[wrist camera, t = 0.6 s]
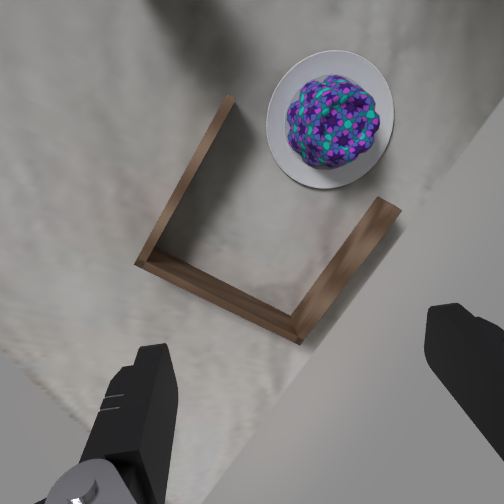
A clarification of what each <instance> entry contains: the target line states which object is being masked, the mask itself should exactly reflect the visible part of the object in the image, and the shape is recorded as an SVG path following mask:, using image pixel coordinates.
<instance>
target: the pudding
mask: <svg viewBox="0 0 504 504" xmlns="http://www.w3.org/2000/svg"><path fill="white" fill-rule="evenodd" d="M328 74H337V75H334V76H328V77H327V78H326V79H325V80H324V81H323V82H322V83H321V82H317V81H312V82H309V81H310V80H312V79H314V78H317V77H319V76H322V75H328ZM338 75H342V76H346V77H348V78H350V79H352V80H354V81H355V82H357V83H358V84H359V85H360V86H361V87H362V88H363V89H364V90H363V89H362V88H360V87H359V86H358V85H354V84H352V83H351V82H349V81H348V80H347V79H345V78H343V77H341V76H338ZM307 82H309V83H307ZM306 83H307V84H306ZM305 84H306V85H305ZM303 85H305V86H304V87H303V88H302V89H301V91H300V97H299V100H298V101H296V102H294V103H293V104H291V106H290V108H289V110H288V112H287V109H288V106H289V104H290V102H291V100H292V98H293V97H294V95H295V94H296V93H297V91H298V90H299V89H300V88H301V87H302V86H303ZM286 112H287V121H288V123H289V125H290V127H291V129H290V132H289V134H288V140H289V144H290V146H291V147H292V149H293V150H295V151H298V152H301V154H302V158H303V161H304V162H306V163H307V164H308V165H312V166H319V165H323V164H325V165H327V166H328V167H338V166H341V165H344V164H346V165H344V166H341V167H339V168H335V169H330V170H321V169H315V168H312V167H310V166H307V165H306V164H304V163H302V162H301V161H300V160H299V159H298V158H297V157H296V156H295V155H294V154H293V152H292V151H291V149H290V147H289V145H288V142H287V139H286V135H285V117H286ZM393 121H394V105H393V100H392V94H391V92H390V89H389V86H388V84H387V82H386V80H385V79H384V77H383V75H382V74H381V72H380V71H379V70H378V69H377V68H376V67H375V66H374V65H373V64H372V63H370V62H369V61H368V60H366V59H365V58H363V57H361V56H359V55H357V54H355V53H351V52H347V51H342V50H329V51H324V52H319V53H316V54H314V55H311V56H309V57H306V58H305V59H303V60H302V61H300V62H298V63H297V64H296V65H294V66H293V67H292V68H291V69H290V70H289V71H288V72H287V73H286V74H285V75H284V77H283V78H282V79H281V81H280V82H279V83H278V85H277V87H276V89H275V91H274V93H273V95H272V98H271V100H270V103H269V106H268V112H267V118H266V132H267V139H268V144H269V147H270V150H271V153H272V155H273V156H274V158H275V160H276V162H277V164H278V165H279V166H280V167H281V169H282V170H283V171H284V172H285V173H286V174H287V175H289V176H290V177H291V178H292V179H294V180H296V181H297V182H299V183H301V184H303V185H306V186H309V187H314V188H320V189H327V188H336V187H341V186H344V185H346V184H349V183H352V182H353V181H355V180H357V179H359V178H360V177H362V176H363V175H364V174H365V173H367V172H368V171H369V170H370V169H371V168H372V167H373V166H374V165H375V164H376V163H377V162H378V160H379V159H380V157H381V156H382V154H383V152H384V151H385V149H386V146H387V144H388V142H389V139H390V136H391V133H392V129H393Z"/></svg>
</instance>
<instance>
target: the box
mask: <svg viewBox="0 0 504 504" xmlns="http://www.w3.org/2000/svg"><path fill="white" fill-rule="evenodd" d="M235 100H236V99H235V98H233V97H232V96H230V95H229V94H227V95H226V97H225V99H224V101H223V102H222V104H221V106H220V108H219V110H218V112H217V113H216V115H215V117H214V119H213V121H212V123H211V124H210V126H209V128H208V130H207V132H206V134H205V135H204V137H203V139H202V141H201V143H200V145H199V146H198V148H197V150H196V152H195V154H194V156H193V157H192V159H191V161H190V163H189V165H188V166H187V168H186V170H185V172H184V174H183V176H182V177H181V179H180V181H179V183H178V185H177V187H176V188H175V190H174V192H173V194H172V196H171V198H170V199H169V201H168V203H167V205H166V207H165V209H164V210H163V212H162V214H161V216H160V218H159V220H158V221H157V223H156V225H155V227H154V229H153V231H152V232H151V234H150V236H149V238H148V240H147V242H146V243H145V245H144V247H143V249H142V251H141V253H140V254H139V256H138V258H137V260H136V262H135V264H134V265H136V266H138V267H140V268H142V269H144V270H146V271H148V272H150V273H152V274H154V275H156V276H158V277H160V278H162V279H164V280H166V281H169V282H171V283H173V284H175V285H177V286H179V287H181V288H183V289H185V290H187V291H189V292H191V293H193V294H195V295H197V296H199V297H201V298H204V299H206V300H208V301H210V302H212V303H214V304H216V305H218V306H220V307H222V308H224V309H226V310H228V311H230V312H232V313H234V314H236V315H239V316H241V317H243V318H245V319H247V320H249V321H251V322H253V323H255V324H257V325H259V326H261V327H263V328H265V329H267V330H269V331H271V332H274V333H276V334H278V335H280V336H282V337H284V338H286V339H288V340H290V341H292V342H294V343H296V344H298V345H301V343H302V342H303V341H304V339H305V338H306V337H307V335H308V334H309V333H310V331H311V330H312V329H313V327H314V326H315V325H316V323H317V322H318V321H319V320H320V318H321V317H322V316H323V314H324V313H325V312H326V310H327V309H328V308H329V306H330V305H331V304H332V302H333V301H334V300H335V298H336V297H337V296H338V295H339V293H340V292H341V291H342V289H343V288H344V287H345V285H346V284H347V283H348V281H349V280H350V279H351V277H352V276H353V275H354V273H355V272H356V271H357V270H358V268H359V267H360V266H361V264H362V263H363V262H364V260H365V259H366V258H367V256H368V255H369V254H370V252H371V251H372V250H373V248H374V247H375V246H376V244H377V243H378V242H379V241H380V239H381V238H382V237H383V235H384V234H385V233H386V231H387V230H388V229H389V227H390V226H391V225H392V223H393V222H394V221H395V219H396V218H397V217H398V216H399V214H400V213H401V212H402V210H401V209H399V208H398V207H396V206H395V205H393V204H391V203H389V202H387V201H385V200H383V199H382V198H380V197H377V198H376V200H375V201H374V202H373V204H372V205H371V207H370V208H369V209H368V211H367V212H366V213H365V215H364V216H363V218H362V219H361V220H360V222H359V223H358V224H357V226H356V227H355V228H354V230H353V231H352V233H351V234H350V235H349V237H348V238H347V239H346V241H345V242H344V244H343V245H342V246H341V248H340V249H339V250H338V252H337V253H336V255H335V256H334V257H333V259H332V260H331V261H330V263H329V264H328V266H327V267H326V268H325V270H324V271H323V272H322V274H321V275H320V277H319V278H318V279H317V281H316V282H315V283H314V285H313V286H312V287H311V289H310V290H309V292H308V293H307V294H306V296H305V297H304V298H303V300H302V301H301V303H300V304H299V305H298V307H297V308H296V309H295V311H294V312H293V314H292V315H291V316H290V315H288V314H286V313H284V312H282V311H280V310H278V309H276V308H274V307H272V306H270V305H268V304H266V303H264V302H262V301H260V300H258V299H256V298H254V297H252V296H250V295H248V294H246V293H244V292H242V291H240V290H239V289H237V288H235V287H233V286H231V285H229V284H227V283H225V282H223V281H221V280H219V279H217V278H215V277H213V276H211V275H209V274H207V273H205V272H203V271H201V270H199V269H197V268H195V267H193V266H191V265H189V264H187V263H185V262H183V261H181V260H179V259H177V258H176V257H174V256H172V255H170V254H168V253H166V252H164V251H162V250H160V249H158V248H156V247H154V246H155V244H156V243H157V241H158V239H159V237H160V235H161V234H162V232H163V230H164V228H165V226H166V225H167V223H168V221H169V219H170V217H171V216H172V214H173V212H174V210H175V208H176V207H177V205H178V203H179V201H180V199H181V198H182V196H183V194H184V192H185V190H186V189H187V187H188V185H189V183H190V181H191V180H192V178H193V176H194V174H195V172H196V171H197V169H198V167H199V165H200V163H201V162H202V160H203V158H204V156H205V154H206V153H207V151H208V149H209V147H210V145H211V144H212V142H213V140H214V138H215V136H216V135H217V133H218V131H219V129H220V127H221V126H222V124H223V122H224V120H225V118H226V117H227V115H228V113H229V111H230V109H231V108H232V106H233V104H234V102H235Z"/></svg>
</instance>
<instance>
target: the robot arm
mask: <svg viewBox="0 0 504 504" xmlns="http://www.w3.org/2000/svg"><path fill="white" fill-rule="evenodd" d="M424 352H425V357H426V360H427V363H428V365H429V366H430V368H431V369H432V371H433V372H434V373H435V374H436V376H437V377H438V378H439V380H440V381H441V382H442V383H443V385H444V386H445V387H446V388H447V390H448V391H449V392H450V393H451V395H452V396H453V397H454V399H455V400H456V401H457V402H458V404H459V405H460V406H461V407H462V409H463V410H464V411H465V413H466V414H467V415H468V416H469V418H470V419H471V420H472V421H473V423H474V424H475V425H476V427H477V428H478V429H479V430H480V432H481V433H482V434H483V435H484V437H485V438H486V439H487V441H488V442H489V443H490V444H491V446H492V447H493V448H494V449H495V451H496V452H497V453H498V454H499V456H500V457H501V458H502V460H503V461H504V330H503V329H501V328H500V327H499V326H497V325H495V324H493V323H491V322H489V321H487V320H485V319H483V318H480V317H475V316H473V315H472V314H471V313H470V312H469V311H467V310H466V309H465V308H464V307H463V306H462V305H460V304H458V303H451V304H444V305H437V306H431V307H430V308H429V309H428V313H427V323H426V333H425V343H424ZM177 408H178V387H177V381H176V377H175V373H174V369H173V365H172V361H171V357H170V353H169V349H168V346H167V344H166V343H163V344H156V345H149V346H142V347H140V348H139V350H138V353H137V356H136V359H135V362H134V365H132V366H125V367H122V368H121V370H120V371H119V372H118V373H117V374H116V375H115V376H114V378H113V379H112V380H111V381H110V384H109V386H108V389H107V392H106V394H105V399H103V402H102V404H101V407H100V412H98V415H97V417H96V420H95V422H94V425H93V428H92V430H91V433H90V435H89V438H88V441H87V443H86V446H85V448H84V451H83V454H82V456H81V459H80V461H79V463H78V464H77V465H76V466H74V467H72V468H71V469H69V470H68V471H67V472H65V473H64V474H63V475H62V476H61V477H60V478H59V479H58V480H57V481H56V483H55V484H54V486H53V487H52V488H51V490H50V492H49V494H48V496H47V497H46V498H45V499H43V500H41V501H39V502H37V503H35V504H164V503H165V496H166V489H167V481H168V474H169V467H170V459H171V452H172V445H173V437H174V430H175V423H176V415H177Z"/></svg>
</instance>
